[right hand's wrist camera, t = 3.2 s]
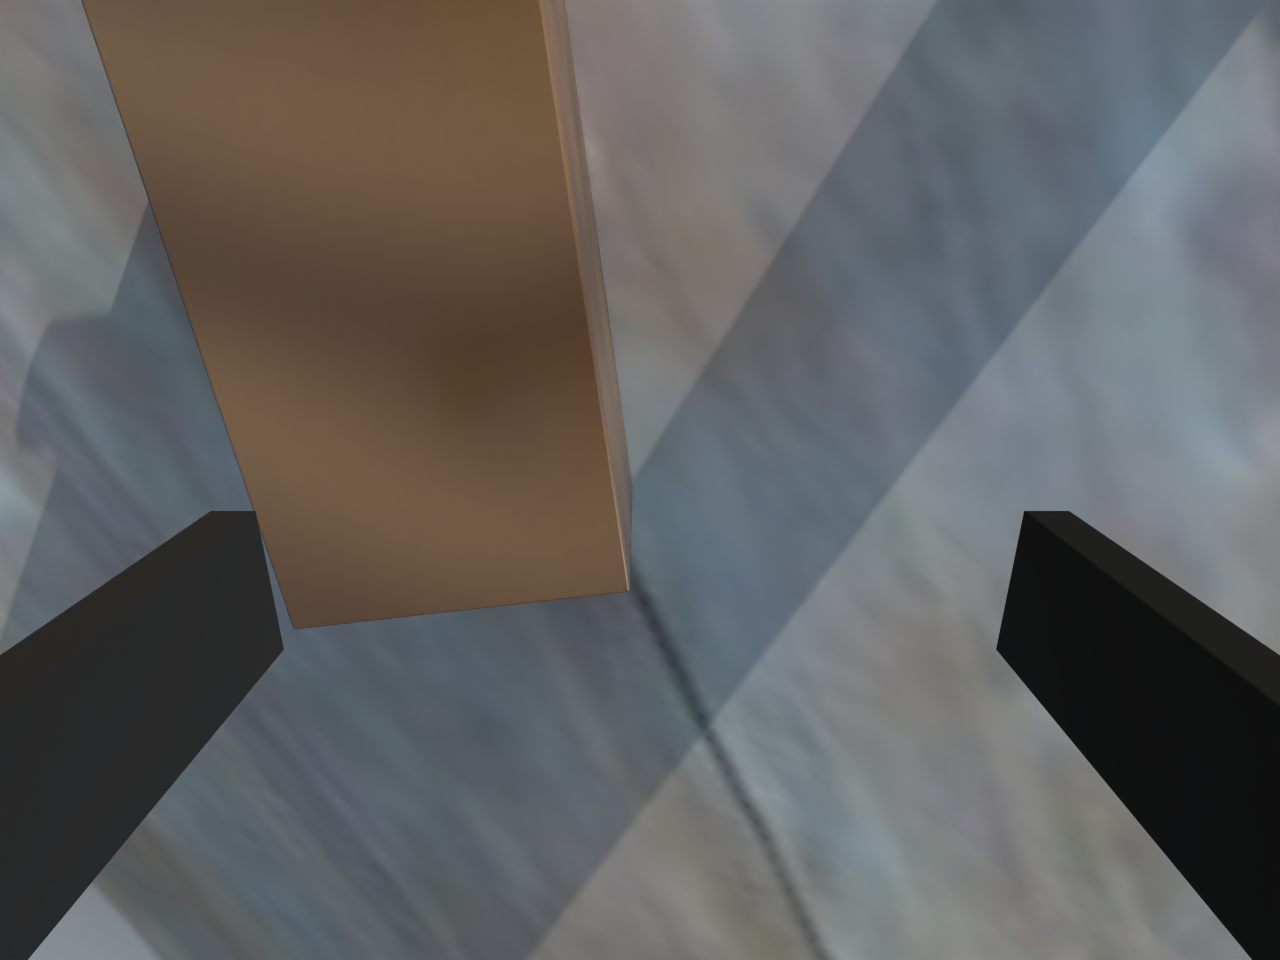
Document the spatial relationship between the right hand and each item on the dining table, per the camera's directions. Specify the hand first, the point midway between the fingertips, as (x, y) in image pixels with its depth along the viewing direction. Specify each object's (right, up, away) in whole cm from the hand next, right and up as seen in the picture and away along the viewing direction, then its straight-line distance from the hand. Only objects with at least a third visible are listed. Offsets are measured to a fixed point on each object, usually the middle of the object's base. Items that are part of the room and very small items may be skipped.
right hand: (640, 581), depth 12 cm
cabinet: (-6, +10, +13) cm, 18 cm away
